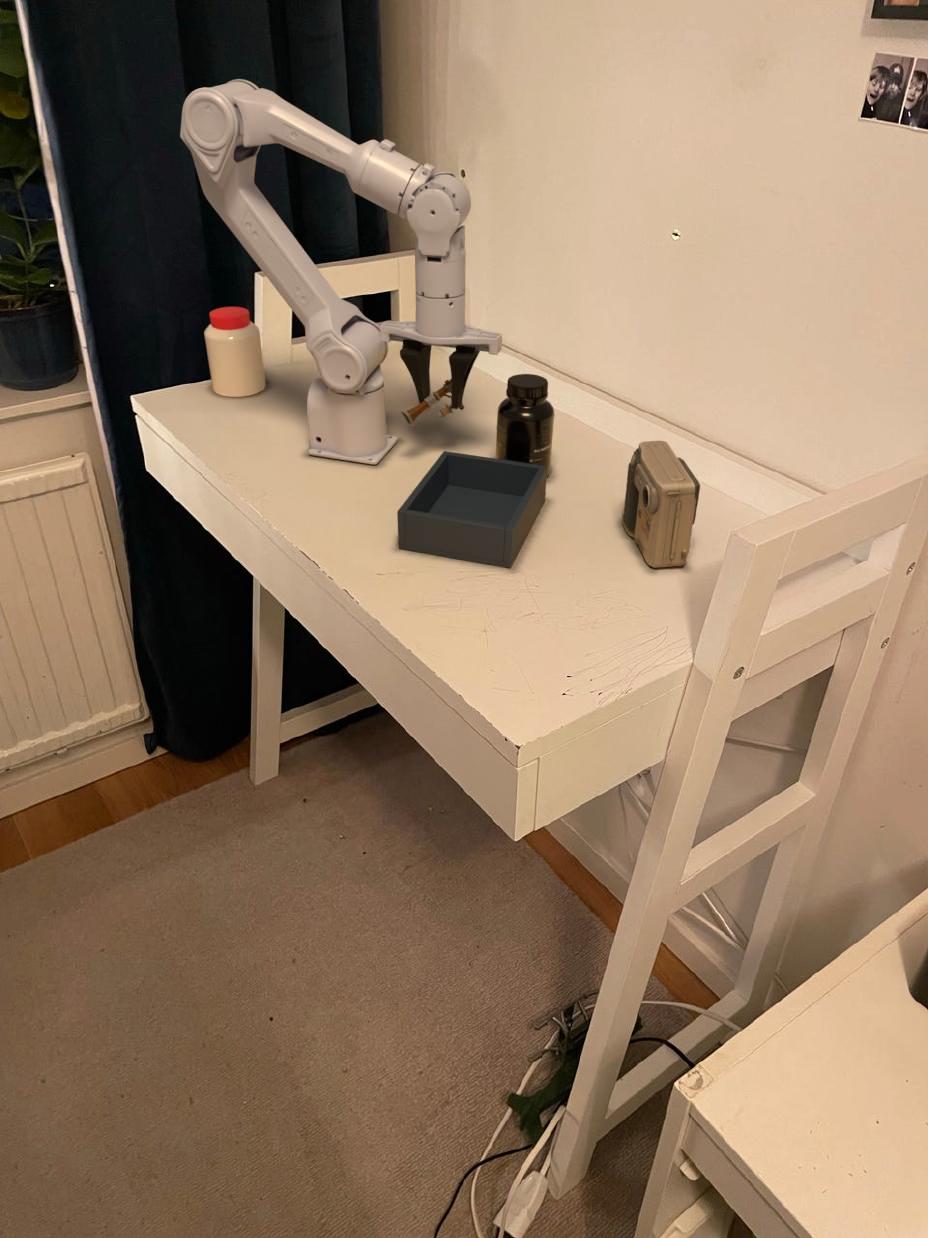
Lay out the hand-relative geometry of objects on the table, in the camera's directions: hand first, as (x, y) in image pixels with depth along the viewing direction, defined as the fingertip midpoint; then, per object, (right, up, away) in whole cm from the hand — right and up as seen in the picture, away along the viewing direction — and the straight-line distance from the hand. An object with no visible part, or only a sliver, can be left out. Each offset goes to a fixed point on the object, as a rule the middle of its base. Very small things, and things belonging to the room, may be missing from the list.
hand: (440, 403), depth 115 cm
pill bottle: (-30, +8, +23) cm, 39 cm away
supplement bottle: (+10, -9, +1) cm, 13 cm away
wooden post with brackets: (-1, -2, +1) cm, 2 cm away
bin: (+4, -16, -9) cm, 19 cm away
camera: (+24, -18, -13) cm, 33 cm away
